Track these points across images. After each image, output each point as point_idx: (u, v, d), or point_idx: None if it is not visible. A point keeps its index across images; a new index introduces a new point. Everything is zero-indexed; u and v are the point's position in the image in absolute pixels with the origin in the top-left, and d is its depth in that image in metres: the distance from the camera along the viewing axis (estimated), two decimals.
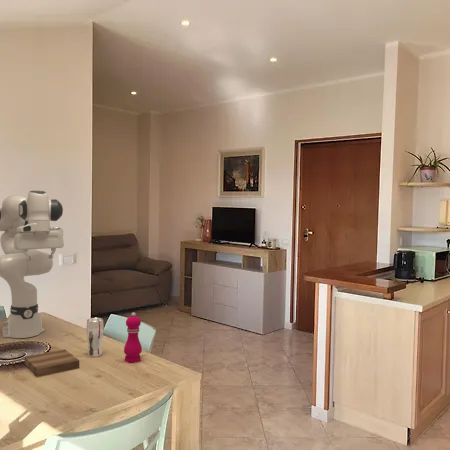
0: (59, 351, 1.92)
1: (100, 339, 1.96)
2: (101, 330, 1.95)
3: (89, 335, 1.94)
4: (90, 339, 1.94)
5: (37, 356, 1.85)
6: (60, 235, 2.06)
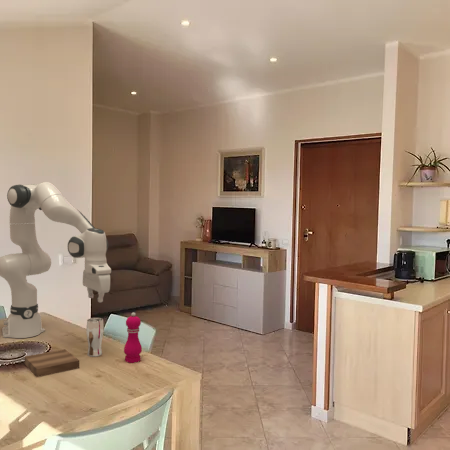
0: (59, 351, 1.92)
1: (100, 339, 1.96)
2: (101, 330, 1.95)
3: (89, 335, 1.94)
4: (90, 339, 1.94)
5: (37, 356, 1.85)
6: None
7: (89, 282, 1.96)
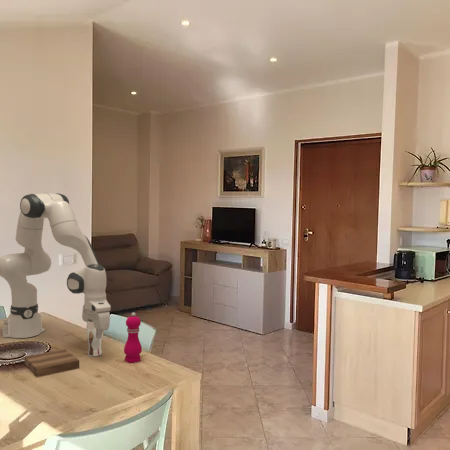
0: (59, 351, 1.92)
1: (100, 339, 1.96)
2: None
3: (89, 335, 1.94)
4: (90, 339, 1.94)
5: (37, 356, 1.85)
6: None
7: (89, 318, 1.97)
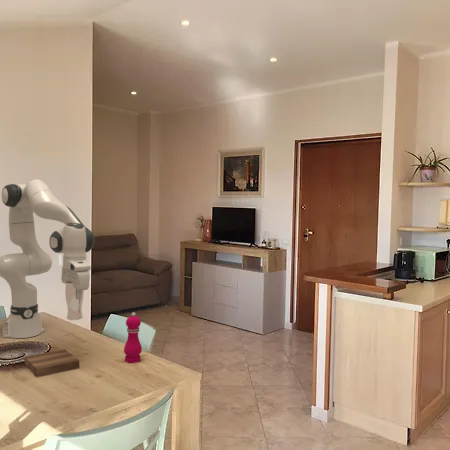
0: (59, 351, 1.92)
1: (80, 301, 1.87)
2: None
3: (68, 297, 1.86)
4: (69, 302, 1.86)
5: (37, 356, 1.85)
6: None
7: (68, 279, 1.88)
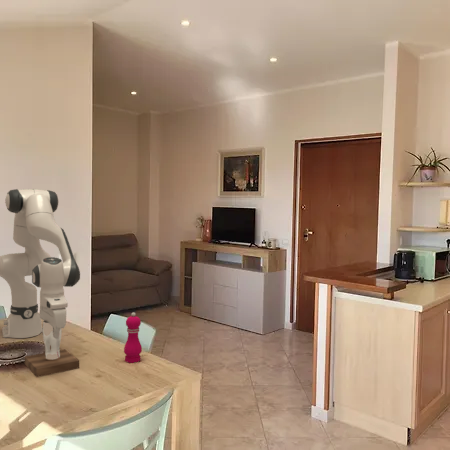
0: None
1: (57, 341, 1.81)
2: None
3: (45, 337, 1.80)
4: (47, 342, 1.80)
5: (37, 356, 1.85)
6: None
7: (45, 315, 1.82)
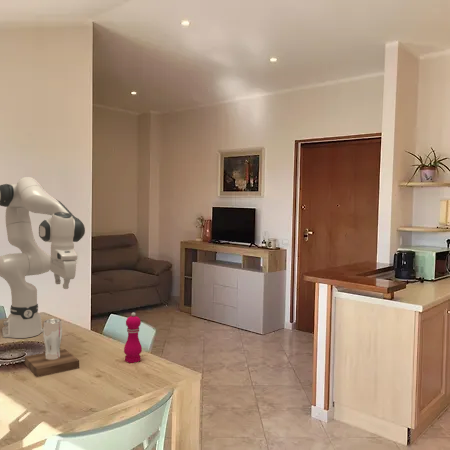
0: None
1: (58, 341, 1.82)
2: (59, 332, 1.81)
3: (46, 337, 1.80)
4: (47, 342, 1.80)
5: (37, 356, 1.85)
6: None
7: (56, 268, 1.90)
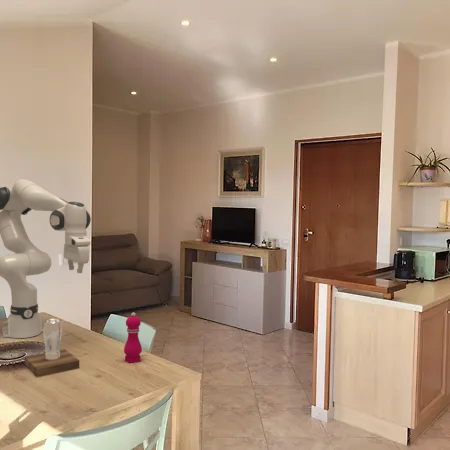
0: None
1: (58, 341, 1.82)
2: (59, 332, 1.81)
3: (46, 337, 1.80)
4: (47, 342, 1.80)
5: (37, 356, 1.85)
6: None
7: (70, 254, 2.02)
